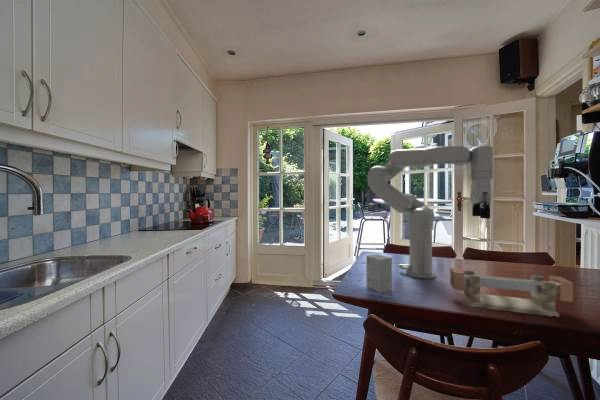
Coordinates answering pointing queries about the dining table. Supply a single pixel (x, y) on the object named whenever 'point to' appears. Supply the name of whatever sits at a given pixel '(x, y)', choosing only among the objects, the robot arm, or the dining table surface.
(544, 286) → the hanger stand
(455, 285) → the steel bar
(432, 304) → the dining table surface
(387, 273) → the small box
